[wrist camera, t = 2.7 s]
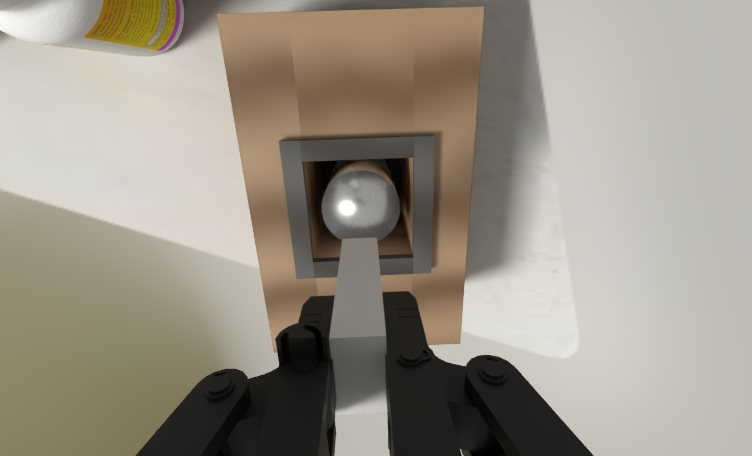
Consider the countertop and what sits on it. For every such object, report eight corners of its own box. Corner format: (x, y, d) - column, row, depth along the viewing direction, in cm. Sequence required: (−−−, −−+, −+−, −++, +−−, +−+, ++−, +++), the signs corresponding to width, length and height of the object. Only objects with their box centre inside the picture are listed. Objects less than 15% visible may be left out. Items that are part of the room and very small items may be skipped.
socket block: (257, 34, 26) (211, 11, 18) (449, 28, 26) (488, 3, 18) (293, 294, 34) (272, 358, 26) (439, 287, 34) (462, 348, 26)
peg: (329, 149, 29) (318, 172, 22) (390, 147, 29) (399, 169, 22) (333, 208, 31) (324, 246, 24) (391, 205, 31) (400, 243, 24)
